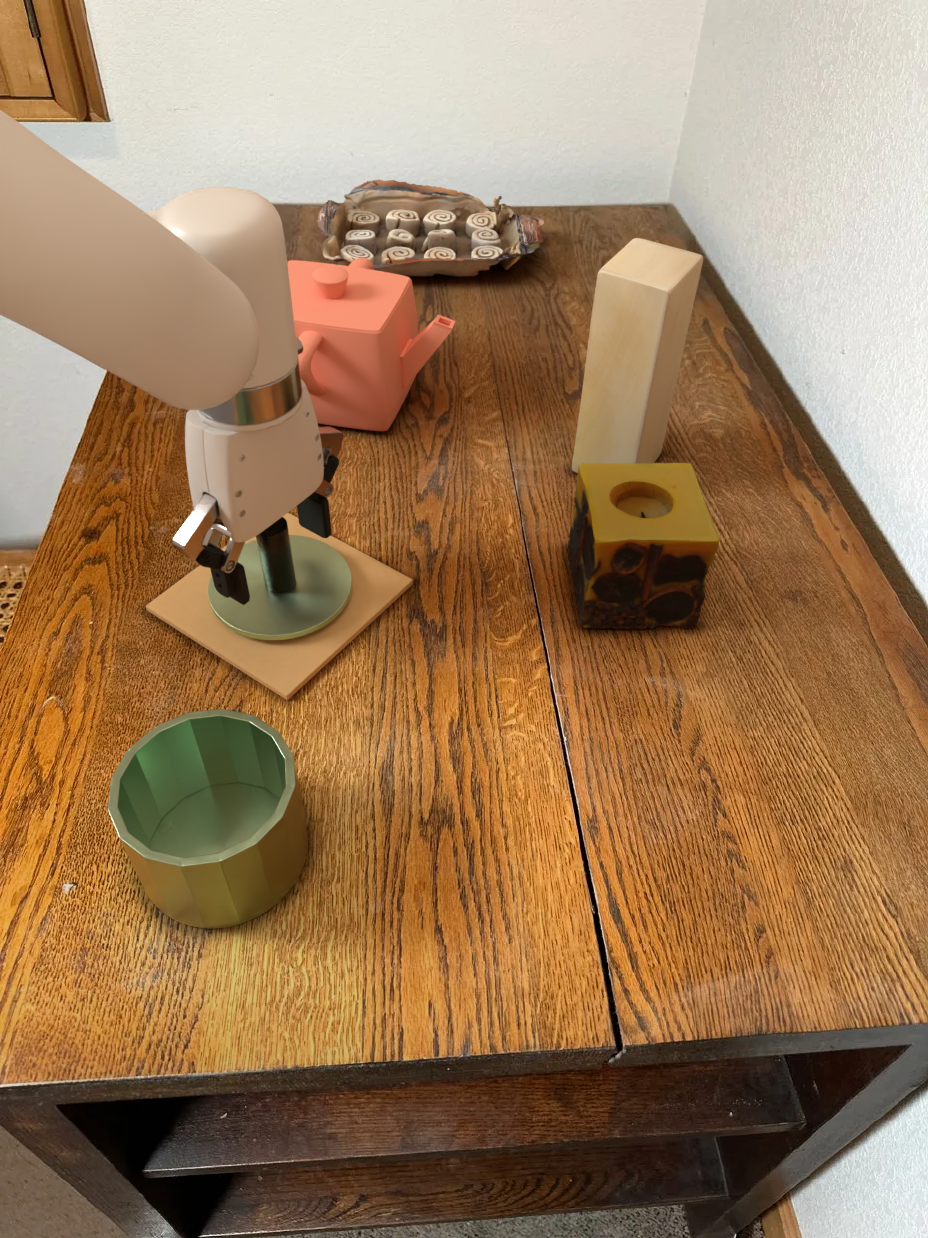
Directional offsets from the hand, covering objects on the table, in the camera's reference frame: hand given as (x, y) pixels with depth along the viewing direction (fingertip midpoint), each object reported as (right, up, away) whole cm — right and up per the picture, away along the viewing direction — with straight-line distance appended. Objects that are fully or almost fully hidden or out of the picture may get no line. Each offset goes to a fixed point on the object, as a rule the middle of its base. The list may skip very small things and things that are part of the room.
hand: (276, 561), depth 77 cm
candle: (+30, -2, +5) cm, 30 cm away
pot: (-1, -21, -13) cm, 24 cm away
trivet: (0, -3, +3) cm, 4 cm away
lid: (0, -2, +2) cm, 3 cm away
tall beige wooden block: (+31, +11, +17) cm, 37 cm away
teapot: (+5, +19, +24) cm, 31 cm away
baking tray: (+11, +44, +47) cm, 65 cm away
